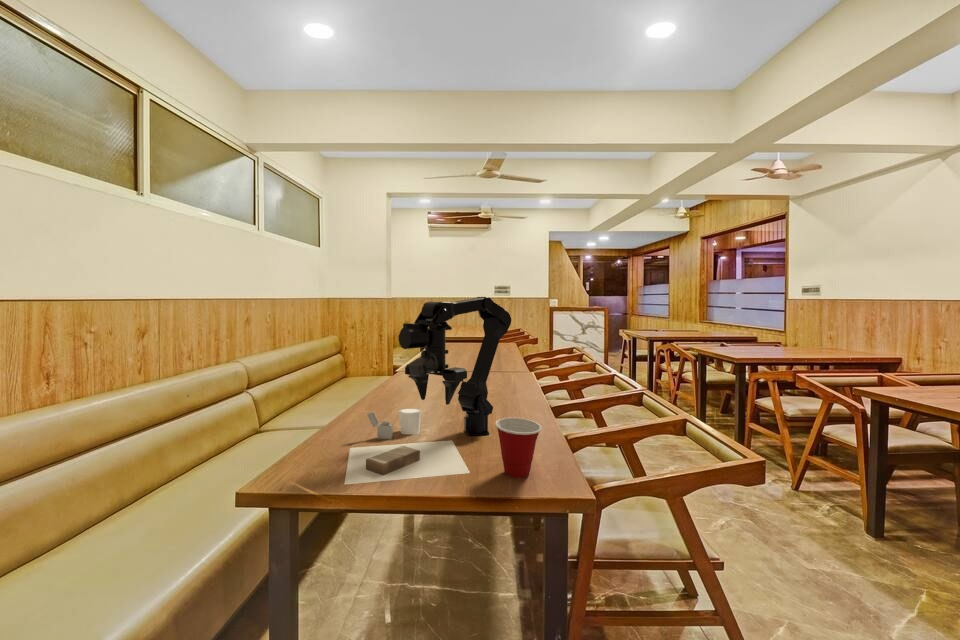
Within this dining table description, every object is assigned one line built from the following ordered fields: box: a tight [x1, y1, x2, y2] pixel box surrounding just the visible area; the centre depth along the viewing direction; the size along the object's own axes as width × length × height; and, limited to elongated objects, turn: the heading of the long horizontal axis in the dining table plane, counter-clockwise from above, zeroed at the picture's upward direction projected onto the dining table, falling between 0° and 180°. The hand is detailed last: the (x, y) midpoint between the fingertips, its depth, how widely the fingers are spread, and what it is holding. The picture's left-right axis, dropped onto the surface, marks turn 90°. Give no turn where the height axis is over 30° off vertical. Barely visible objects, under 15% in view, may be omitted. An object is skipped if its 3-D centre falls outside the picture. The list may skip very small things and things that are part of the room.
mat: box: [344, 440, 471, 485], centre depth 108 cm, size 28×24×1 cm
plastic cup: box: [495, 417, 543, 479], centre depth 100 cm, size 11×11×12 cm
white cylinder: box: [398, 407, 422, 436], centre depth 131 cm, size 7×7×7 cm
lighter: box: [367, 411, 394, 440], centre depth 125 cm, size 7×2×8 cm, turn 85°
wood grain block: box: [366, 446, 420, 475], centre depth 105 cm, size 3×6×12 cm
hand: (435, 402), depth 121 cm, fingers open, 9 cm apart
